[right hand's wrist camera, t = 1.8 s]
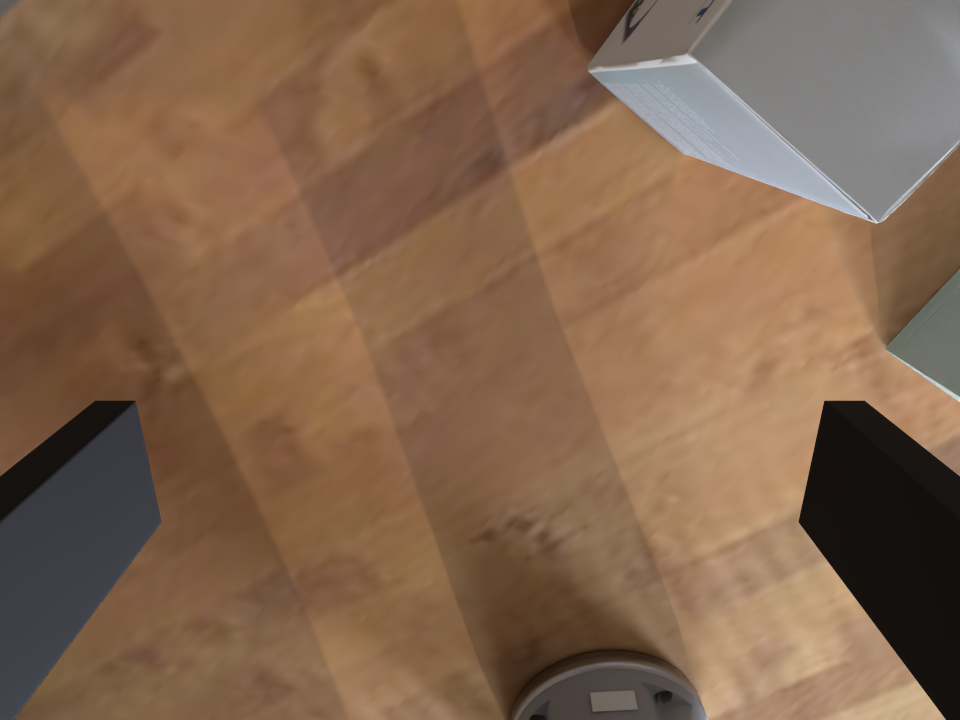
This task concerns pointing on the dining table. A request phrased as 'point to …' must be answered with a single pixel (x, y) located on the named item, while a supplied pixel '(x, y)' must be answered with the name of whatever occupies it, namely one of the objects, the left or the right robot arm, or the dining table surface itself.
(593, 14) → the dining table surface
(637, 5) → the hard drive box
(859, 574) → the right robot arm
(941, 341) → the cabinet
